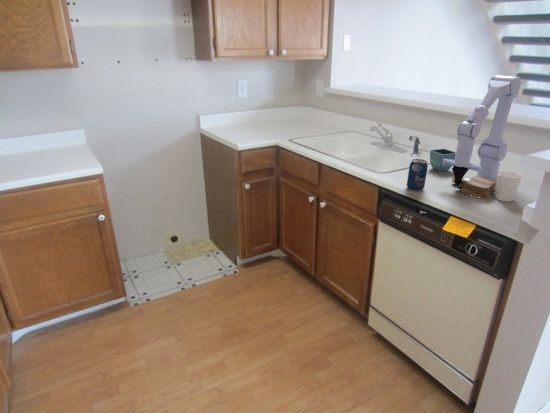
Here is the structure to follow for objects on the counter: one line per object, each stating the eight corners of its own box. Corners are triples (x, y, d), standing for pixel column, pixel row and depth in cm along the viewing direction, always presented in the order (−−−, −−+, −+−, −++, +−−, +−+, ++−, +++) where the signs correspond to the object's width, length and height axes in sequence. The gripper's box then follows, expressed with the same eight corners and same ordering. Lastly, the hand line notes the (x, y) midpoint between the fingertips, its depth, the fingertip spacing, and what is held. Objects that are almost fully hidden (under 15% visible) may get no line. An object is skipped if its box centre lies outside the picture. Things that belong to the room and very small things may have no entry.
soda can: (417, 193, 154) (421, 164, 150) (402, 188, 160) (406, 160, 155) (427, 189, 158) (432, 161, 153) (412, 184, 163) (417, 157, 159)
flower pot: (440, 166, 188) (444, 148, 184) (454, 171, 180) (458, 152, 177) (426, 168, 185) (429, 149, 181) (439, 173, 177) (443, 154, 174)
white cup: (507, 194, 153) (513, 171, 149) (519, 202, 146) (526, 177, 142) (488, 195, 153) (493, 171, 149) (499, 202, 145) (505, 177, 141)
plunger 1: (454, 181, 166) (456, 173, 164) (478, 187, 159) (480, 179, 158) (451, 183, 164) (453, 175, 162) (475, 189, 157) (477, 181, 156)
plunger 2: (461, 187, 159) (462, 179, 157) (486, 194, 152) (488, 185, 151) (457, 190, 156) (459, 181, 155) (482, 196, 150) (484, 187, 149)
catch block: (473, 185, 162) (475, 175, 161) (496, 191, 156) (498, 180, 155) (461, 193, 154) (463, 182, 152) (484, 199, 148) (487, 188, 146)
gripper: (441, 150, 154) (435, 182, 160) (479, 157, 145) (471, 191, 150) (449, 147, 159) (443, 178, 164) (485, 154, 149) (478, 186, 155)
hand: (457, 184), depth 158 cm, fingers closed
